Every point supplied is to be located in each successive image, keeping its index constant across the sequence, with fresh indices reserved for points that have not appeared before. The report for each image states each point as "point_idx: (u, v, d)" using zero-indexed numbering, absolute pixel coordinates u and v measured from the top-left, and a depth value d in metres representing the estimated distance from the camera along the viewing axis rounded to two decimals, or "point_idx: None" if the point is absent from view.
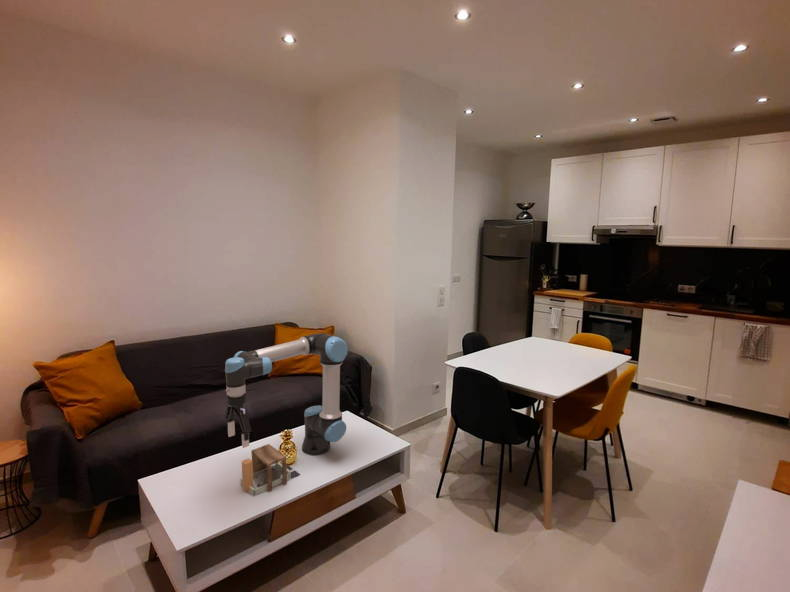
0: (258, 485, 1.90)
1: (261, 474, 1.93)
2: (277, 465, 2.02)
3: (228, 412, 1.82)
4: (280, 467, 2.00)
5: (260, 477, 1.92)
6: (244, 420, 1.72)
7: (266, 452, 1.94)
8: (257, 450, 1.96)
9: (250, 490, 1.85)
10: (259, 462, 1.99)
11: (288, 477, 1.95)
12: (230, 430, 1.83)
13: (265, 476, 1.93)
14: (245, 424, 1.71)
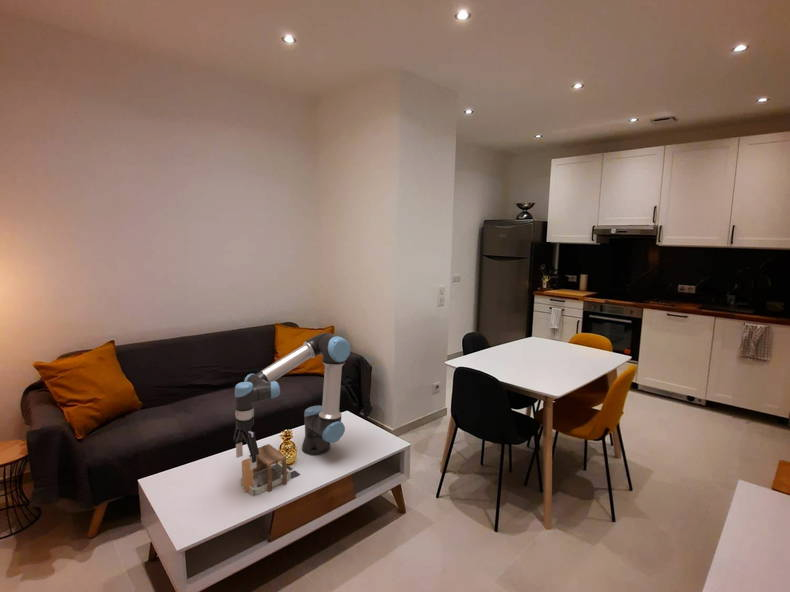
0: (258, 485, 1.90)
1: (261, 474, 1.93)
2: (277, 465, 2.02)
3: (236, 434, 1.89)
4: (280, 467, 2.00)
5: (260, 477, 1.92)
6: (252, 443, 1.78)
7: (266, 452, 1.94)
8: None
9: (250, 490, 1.85)
10: (259, 462, 1.99)
11: (288, 477, 1.95)
12: (238, 451, 1.90)
13: (265, 477, 1.93)
14: (253, 447, 1.78)
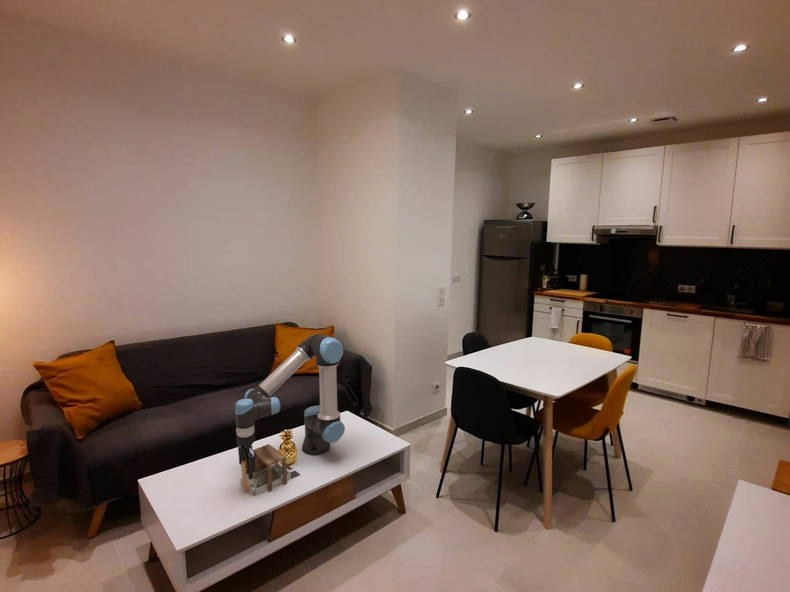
0: (257, 486, 1.89)
1: (261, 475, 1.93)
2: (277, 465, 2.02)
3: (241, 455, 1.88)
4: (280, 467, 2.00)
5: (259, 478, 1.92)
6: (251, 462, 1.81)
7: (266, 452, 1.94)
8: (257, 450, 1.96)
9: (250, 490, 1.85)
10: (259, 462, 1.99)
11: (288, 477, 1.95)
12: None
13: (265, 477, 1.92)
14: (251, 466, 1.82)
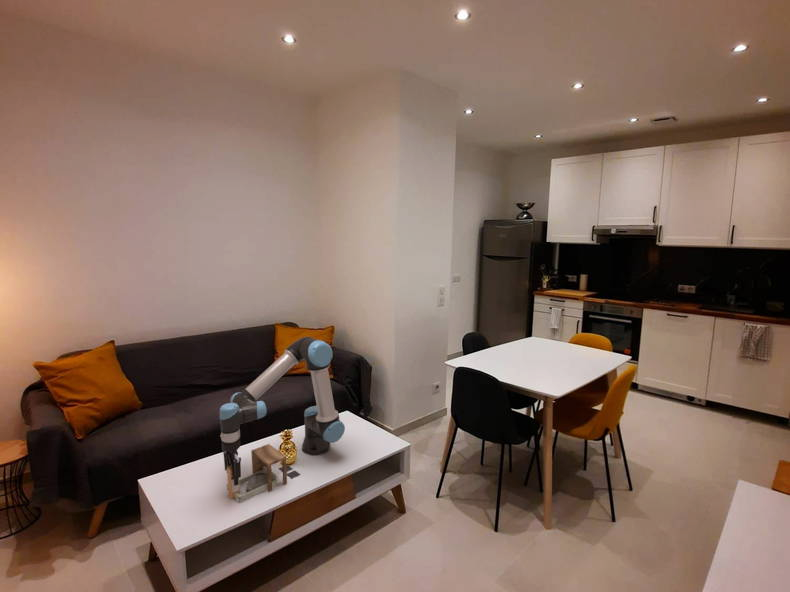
0: (247, 490, 1.86)
1: (250, 479, 1.89)
2: (265, 470, 1.98)
3: (226, 461, 1.84)
4: None
5: (249, 482, 1.88)
6: (236, 468, 1.77)
7: (266, 452, 1.94)
8: (257, 450, 1.96)
9: (236, 496, 1.81)
10: (259, 462, 1.99)
11: (275, 483, 1.91)
12: None
13: (255, 481, 1.89)
14: (236, 472, 1.77)
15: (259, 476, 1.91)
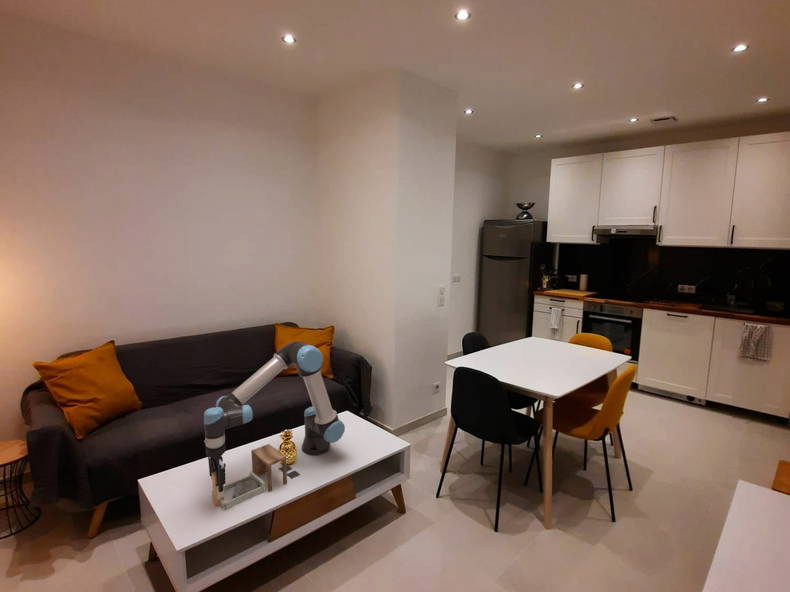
0: (234, 497, 1.81)
1: (237, 485, 1.84)
2: (251, 476, 1.93)
3: (211, 466, 1.79)
4: (254, 478, 1.91)
5: (236, 489, 1.83)
6: (221, 474, 1.72)
7: (266, 452, 1.94)
8: (257, 450, 1.96)
9: (221, 503, 1.76)
10: (259, 462, 1.99)
11: (262, 489, 1.86)
12: None
13: (241, 488, 1.84)
14: (221, 478, 1.72)
15: (245, 482, 1.86)
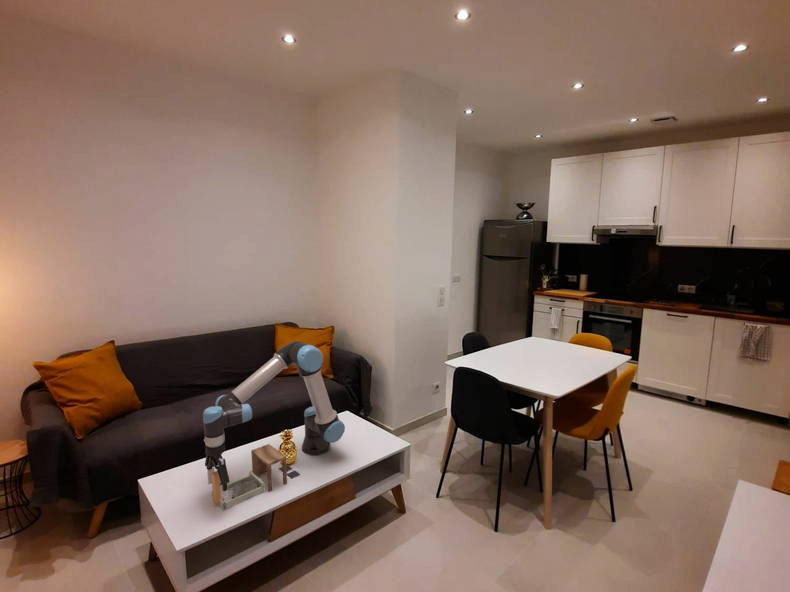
0: (233, 498, 1.81)
1: (236, 486, 1.84)
2: (251, 476, 1.93)
3: (208, 460, 1.81)
4: (254, 478, 1.91)
5: (235, 489, 1.83)
6: (222, 471, 1.70)
7: (266, 452, 1.94)
8: (257, 450, 1.96)
9: (220, 503, 1.76)
10: (259, 462, 1.99)
11: (262, 489, 1.86)
12: (210, 478, 1.82)
13: (240, 488, 1.84)
14: (223, 475, 1.70)
15: (245, 483, 1.86)
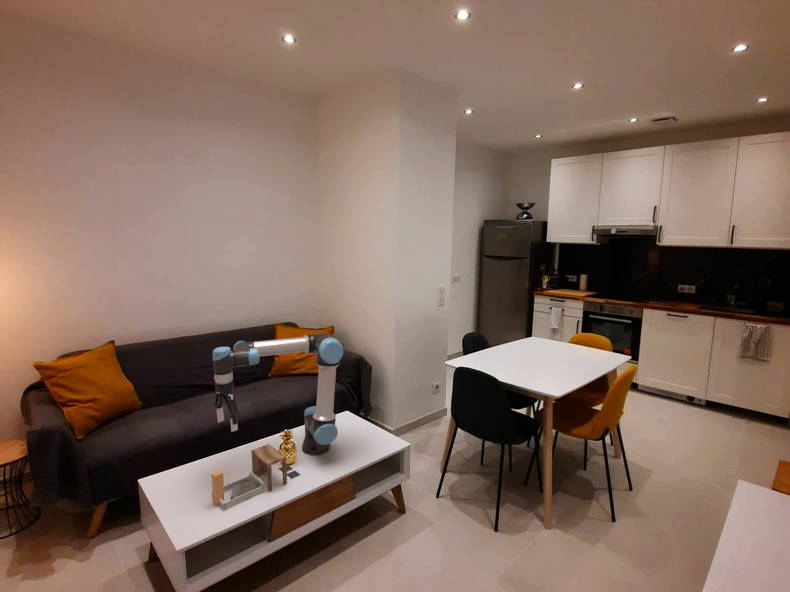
0: (232, 498, 1.80)
1: (235, 487, 1.84)
2: (251, 476, 1.93)
3: (217, 399, 1.92)
4: (254, 478, 1.91)
5: (234, 490, 1.82)
6: (232, 405, 1.82)
7: (266, 452, 1.94)
8: (257, 450, 1.96)
9: (220, 503, 1.76)
10: (259, 462, 1.99)
11: (262, 489, 1.86)
12: (220, 416, 1.93)
13: (240, 489, 1.83)
14: (233, 409, 1.81)
15: (244, 483, 1.85)
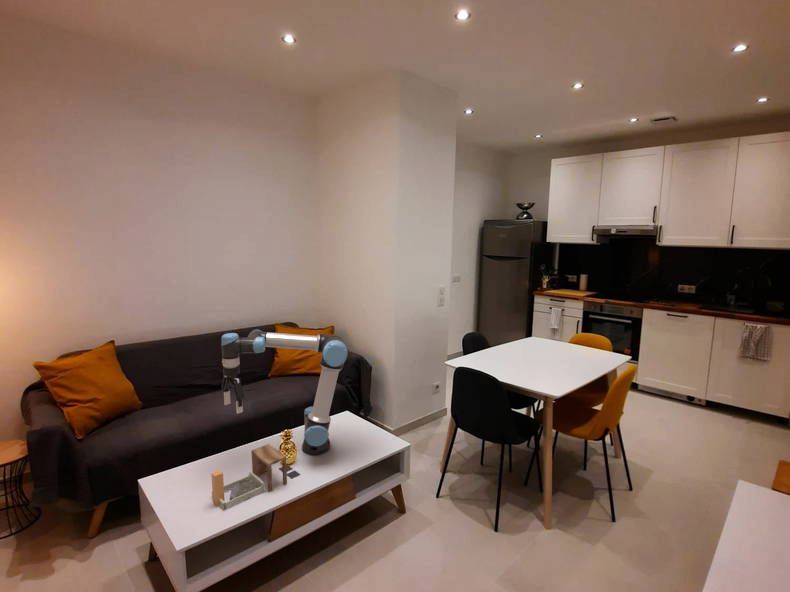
0: (231, 499, 1.80)
1: (234, 487, 1.83)
2: (251, 476, 1.93)
3: (224, 383, 2.03)
4: (254, 478, 1.91)
5: (233, 490, 1.82)
6: (238, 388, 1.92)
7: (266, 452, 1.94)
8: (257, 450, 1.96)
9: (220, 503, 1.76)
10: (259, 462, 1.99)
11: (262, 489, 1.86)
12: (226, 399, 2.04)
13: (239, 489, 1.83)
14: (239, 392, 1.92)
15: (243, 483, 1.85)
